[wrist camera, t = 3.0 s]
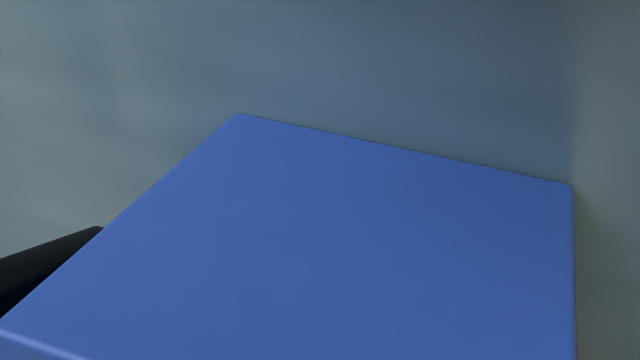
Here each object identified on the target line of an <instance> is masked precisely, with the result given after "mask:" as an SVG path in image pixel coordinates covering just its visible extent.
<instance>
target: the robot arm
mask: <svg viewBox="0 0 640 360" xmlns="http://www.w3.org/2000/svg"><path fill="white" fill-rule="evenodd" d="M103 229H104V227H100V226H94V227H90V228H88V229H85V230H82V231H79V232H76V233H73V234H70V235H67V236H64V237H62V238H59V239H56V240H53V241H50V242H47V243H44V244H41V245H38V246H36V247H33V248H30V249H27V250H24V251H21V252H18V253H15V254H12V255H10V256H7V257H4V258H1V259H0V319H1V318H2V317H3V316H4V315H5V314H6V313H8V312H9V311H10V310H11V309H12V308H13V307H14V306H16V305H17V304H18V303H19V302H20V301H21V300H22V299H24V298H25V297H26V296H27V295H28V294H29V293H30V292H32V291H33V290H34V289H35V288H36V287H37V286H39V285H40V284H41V283H42V282H43V281H44V280H45V279H47V278H48V277H49V276H50V275H51V274H52V273H53V272H55V271H56V270H57V269H58V268H59V267H60V266H61V265H63V264H64V263H65V262H66V261H67V260H68V259H70V258H71V257H72V256H73V255H74V254H75V253H76V252H78V251H79V250H80V249H81V248H82V247H83V246H84V245H86V244H87V243H88V242H89V241H90V240H91V239H92V238H94V237H95V236H96V235H97V234H98V233H99V232H100V231H102V230H103Z"/></svg>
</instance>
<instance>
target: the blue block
mask: <svg viewBox="0 0 640 360" xmlns="http://www.w3.org/2000/svg"><path fill="white" fill-rule="evenodd" d="M0 360H577V336H576V284H575V232H574V191H573V187H572V186H570V185H568V184H564V183H559V182H555V181H550V180H545V179H541V178H536V177H531V176H527V175H522V174H518V173H513V172H508V171H504V170H499V169H495V168H490V167H485V166H481V165H476V164H471V163H467V162H462V161H458V160H453V159H448V158H444V157H439V156H435V155H430V154H425V153H421V152H416V151H412V150H407V149H402V148H398V147H393V146H388V145H384V144H379V143H375V142H370V141H365V140H361V139H356V138H352V137H347V136H342V135H338V134H333V133H328V132H324V131H319V130H315V129H310V128H305V127H301V126H296V125H292V124H287V123H282V122H278V121H273V120H269V119H264V118H259V117H255V116H250V115H245V114H241V113H240V114H235V115H234V116H232V117H231V118H230V119H229V120H228V121H227V122H226V123H224V124H223V125H222V126H221V127H220V128H219V129H217V130H216V131H215V132H214V133H213V134H212V135H211V136H209V137H208V138H207V139H206V140H205V141H204V142H203V143H201V144H200V145H199V146H198V147H197V148H196V149H195V150H193V151H192V152H191V153H190V154H189V155H188V156H187V157H185V158H184V159H183V160H182V161H181V162H180V163H178V164H177V165H176V166H175V167H174V168H173V169H172V170H170V171H169V172H168V173H167V174H166V175H165V176H164V177H162V178H161V179H160V180H159V181H158V182H157V183H156V184H154V185H153V186H152V187H151V188H150V189H149V190H148V191H146V192H145V193H144V194H143V195H142V196H141V197H139V198H138V199H137V200H136V201H135V202H134V203H133V204H131V205H130V206H129V207H128V208H127V209H126V210H125V211H123V212H122V213H121V214H120V215H119V216H118V217H117V218H115V219H114V220H113V221H112V222H111V223H110V224H109V225H107V226H106V227H105V228H104V229H103V230H102V231H100V232H99V233H98V234H97V235H96V236H95V237H94V238H92V239H91V240H90V241H89V242H88V243H87V244H86V245H84V246H83V247H82V248H81V249H80V250H79V251H78V252H76V253H75V254H74V255H73V256H72V257H71V258H70V259H68V260H67V261H66V262H65V263H64V264H63V265H61V266H60V267H59V268H58V269H57V270H56V271H55V272H53V273H52V274H51V275H50V276H49V277H48V278H47V279H45V280H44V281H43V282H42V283H41V284H40V285H39V286H37V287H36V288H35V289H34V290H33V291H32V292H30V293H29V294H28V295H27V296H26V297H25V298H24V299H22V300H21V301H20V302H19V303H18V304H17V305H16V306H14V307H13V308H12V309H11V310H10V311H9V312H8V313H6V314H5V315H4V316H3V317H2V318H1V319H0Z"/></svg>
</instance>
